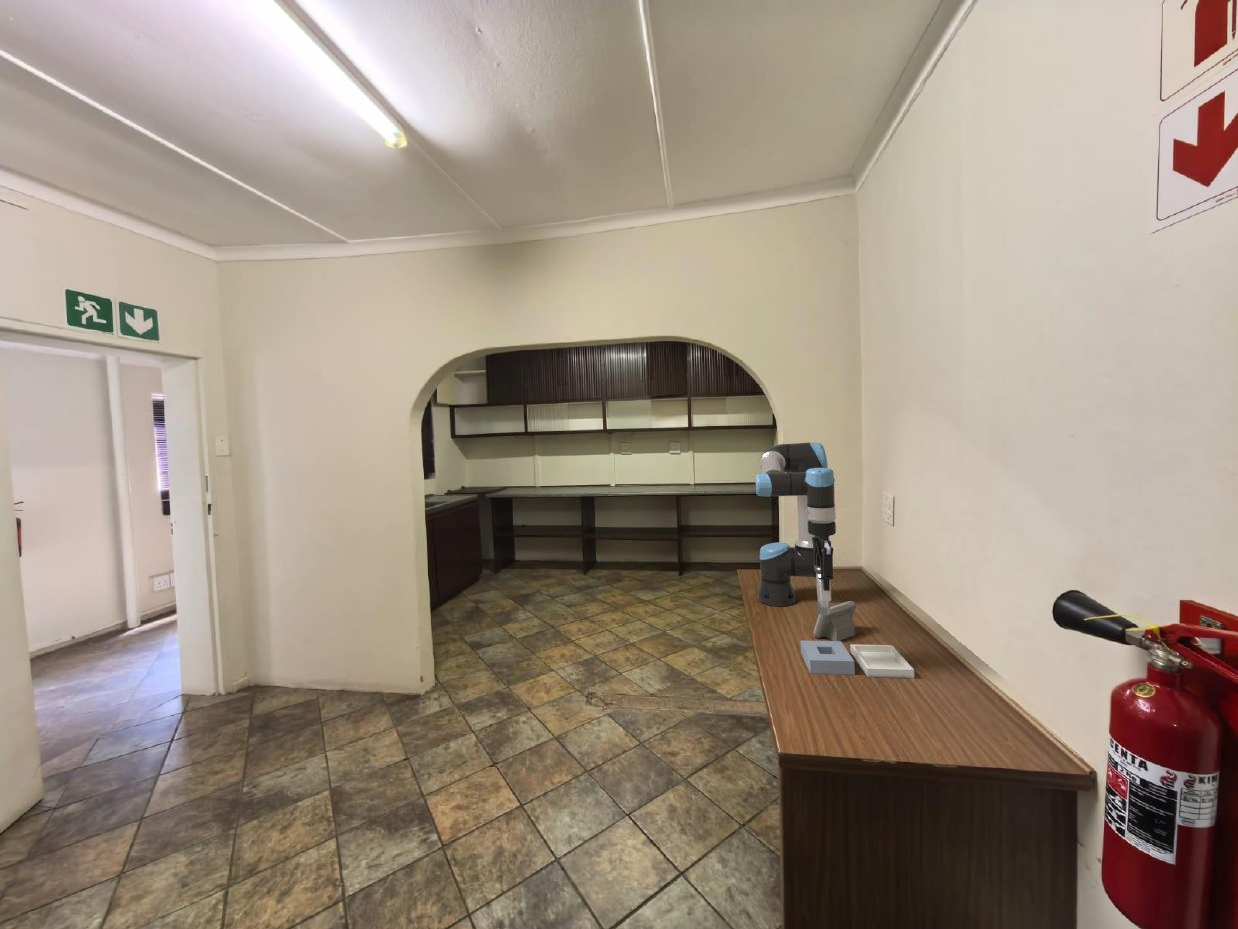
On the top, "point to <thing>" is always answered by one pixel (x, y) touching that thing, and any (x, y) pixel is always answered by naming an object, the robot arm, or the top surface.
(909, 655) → the top surface
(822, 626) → the digital clock
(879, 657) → the tray
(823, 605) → the pin
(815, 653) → the socket block
